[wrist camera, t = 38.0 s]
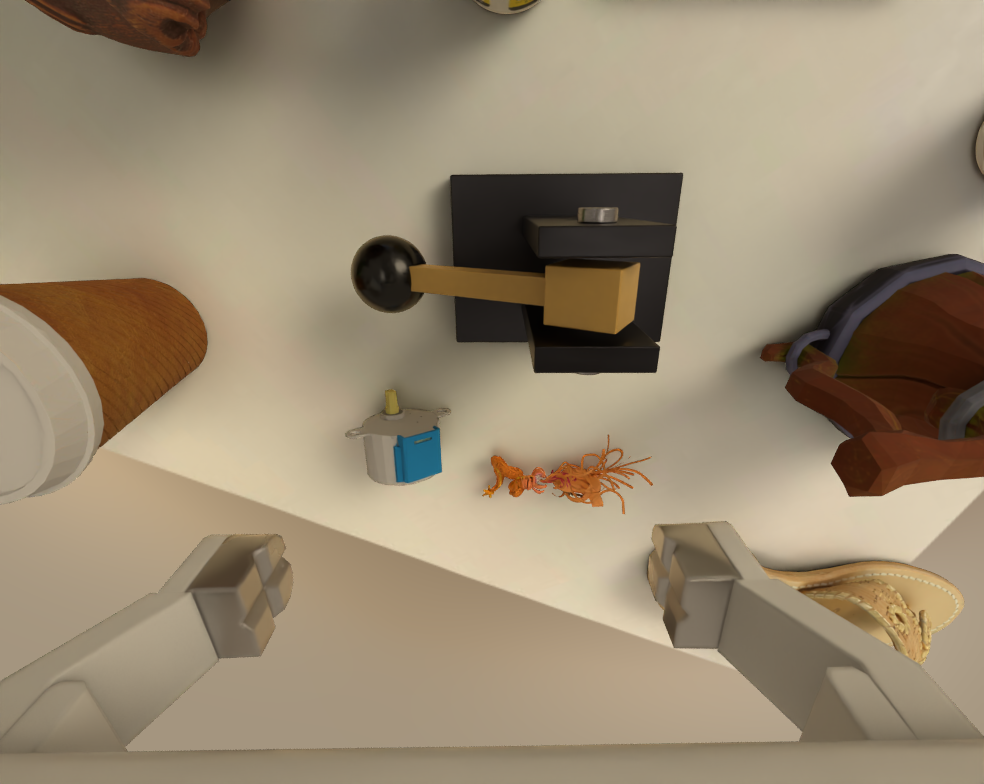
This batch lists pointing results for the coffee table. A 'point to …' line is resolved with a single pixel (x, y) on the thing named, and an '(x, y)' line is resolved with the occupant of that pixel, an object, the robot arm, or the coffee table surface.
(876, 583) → the sandal
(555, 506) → the coffee table surface
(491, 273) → the lever
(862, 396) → the mug
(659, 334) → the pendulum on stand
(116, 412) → the disposable coffee cup
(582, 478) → the dragon
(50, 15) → the brown clay rounded piece
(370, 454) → the electric motor
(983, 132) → the pill bottle
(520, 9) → the supplement bottle
